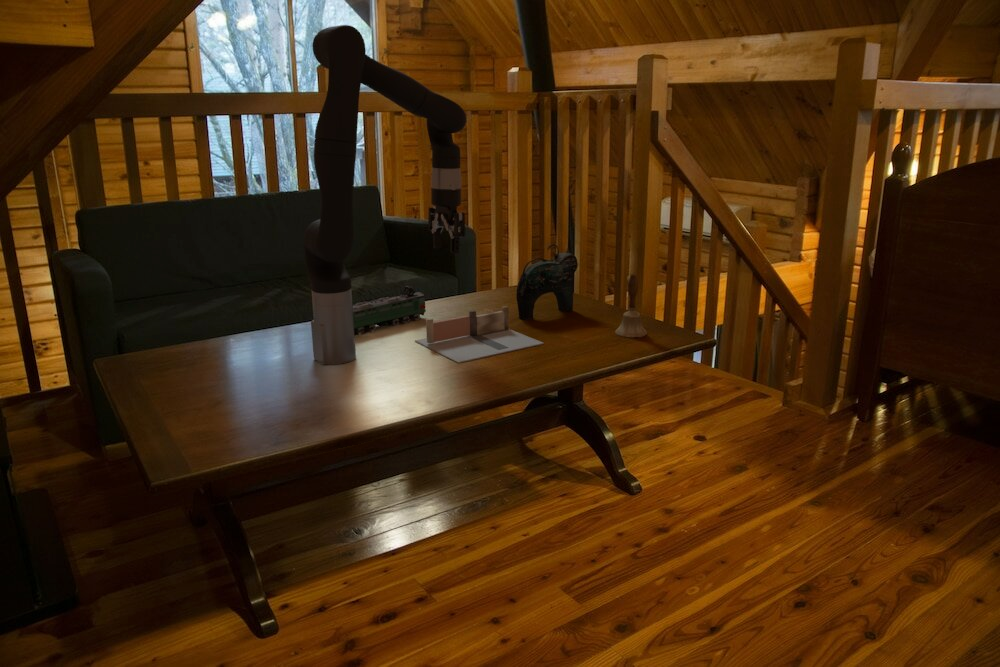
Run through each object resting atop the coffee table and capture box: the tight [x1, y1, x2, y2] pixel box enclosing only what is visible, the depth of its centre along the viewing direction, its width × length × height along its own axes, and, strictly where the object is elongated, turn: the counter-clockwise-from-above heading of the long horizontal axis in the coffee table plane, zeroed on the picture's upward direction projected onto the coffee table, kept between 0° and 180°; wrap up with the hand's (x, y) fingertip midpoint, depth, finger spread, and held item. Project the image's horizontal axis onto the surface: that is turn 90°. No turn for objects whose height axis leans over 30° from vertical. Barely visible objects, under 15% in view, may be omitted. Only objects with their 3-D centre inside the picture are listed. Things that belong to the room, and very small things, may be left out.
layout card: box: [414, 328, 544, 364], centre depth 200 cm, size 26×21×1 cm
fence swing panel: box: [425, 315, 470, 343], centre depth 200 cm, size 12×2×6 cm, turn 125°
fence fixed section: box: [468, 305, 510, 336], centre depth 207 cm, size 12×2×6 cm, turn 125°
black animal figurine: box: [515, 243, 578, 321], centre depth 223 cm, size 20×6×20 cm, turn 124°
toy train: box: [353, 284, 427, 335], centre depth 213 cm, size 5×31×10 cm, turn 133°
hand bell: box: [614, 273, 648, 339], centre depth 205 cm, size 8×8×16 cm
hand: (446, 250), depth 200 cm, fingers open, 8 cm apart
